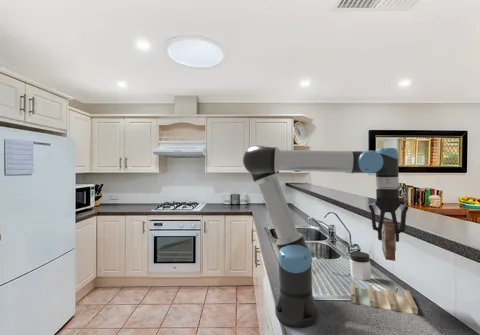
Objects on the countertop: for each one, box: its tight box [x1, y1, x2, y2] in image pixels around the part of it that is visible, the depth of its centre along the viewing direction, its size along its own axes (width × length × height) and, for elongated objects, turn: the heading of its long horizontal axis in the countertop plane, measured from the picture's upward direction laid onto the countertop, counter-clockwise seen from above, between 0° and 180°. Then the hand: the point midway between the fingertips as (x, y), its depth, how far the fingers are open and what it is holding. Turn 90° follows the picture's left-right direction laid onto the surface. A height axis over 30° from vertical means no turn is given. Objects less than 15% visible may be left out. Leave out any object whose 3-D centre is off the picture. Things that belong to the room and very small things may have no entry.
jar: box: [349, 251, 372, 281], centre depth 117 cm, size 9×8×12 cm
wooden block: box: [382, 219, 396, 262], centre depth 95 cm, size 3×10×13 cm, turn 155°
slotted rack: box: [350, 281, 419, 315], centre depth 96 cm, size 21×14×4 cm, turn 66°
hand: (388, 249), depth 95 cm, fingers closed on wooden block, 3 cm apart
